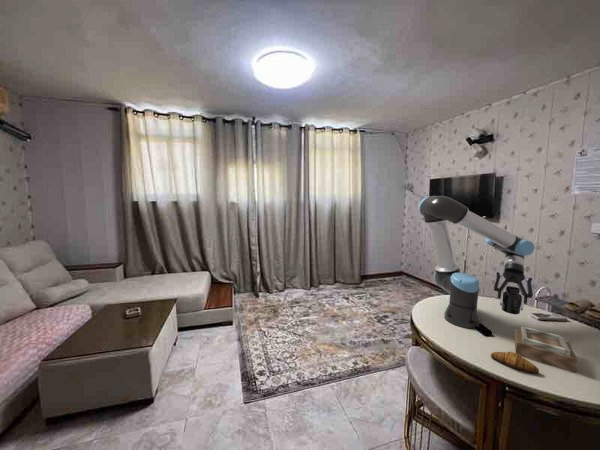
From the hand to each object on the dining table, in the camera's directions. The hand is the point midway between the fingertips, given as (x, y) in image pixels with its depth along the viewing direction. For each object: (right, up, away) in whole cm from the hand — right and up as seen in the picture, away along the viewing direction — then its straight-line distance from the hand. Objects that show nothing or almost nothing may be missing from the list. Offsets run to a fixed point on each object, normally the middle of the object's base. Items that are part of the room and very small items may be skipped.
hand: (511, 306), depth 114 cm
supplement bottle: (+2, -4, +3) cm, 5 cm away
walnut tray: (-4, -13, -18) cm, 22 cm away
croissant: (-21, -14, -24) cm, 35 cm away
